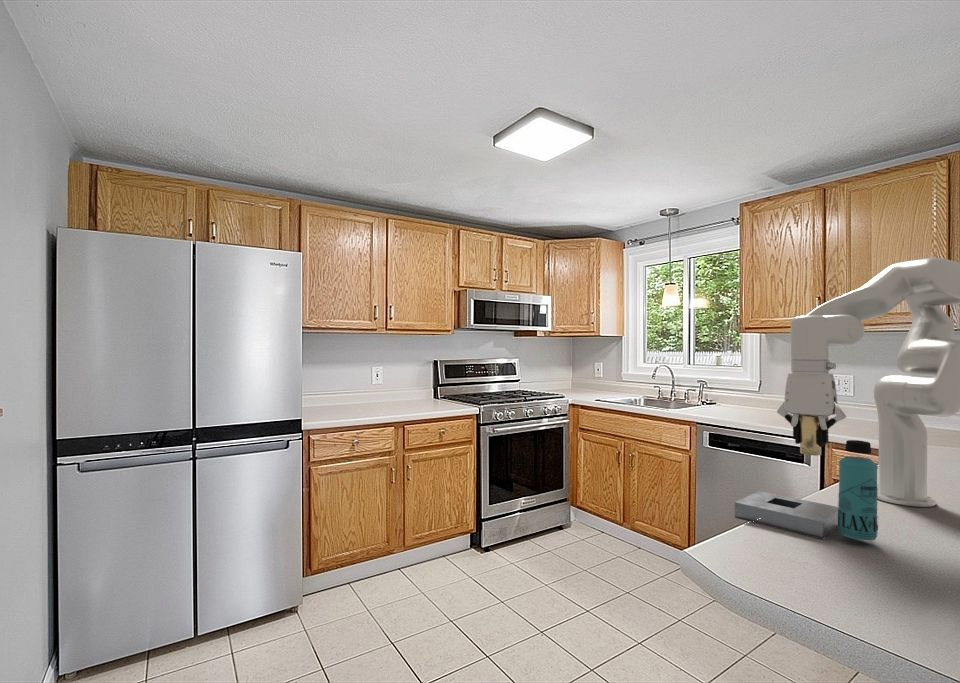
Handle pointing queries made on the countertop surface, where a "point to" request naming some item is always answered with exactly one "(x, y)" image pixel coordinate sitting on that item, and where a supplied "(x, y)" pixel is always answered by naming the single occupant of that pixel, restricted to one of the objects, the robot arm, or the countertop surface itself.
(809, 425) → the bushing
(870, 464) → the beverage bottle
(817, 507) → the jig
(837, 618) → the countertop surface
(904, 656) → the countertop surface
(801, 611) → the countertop surface
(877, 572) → the countertop surface
